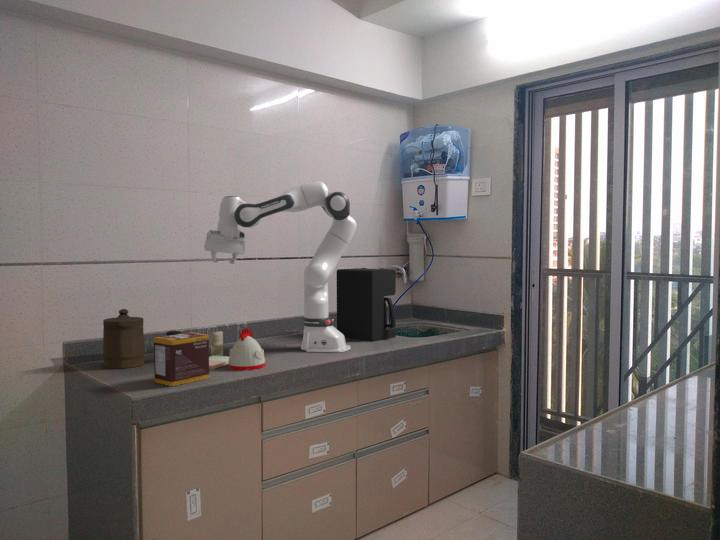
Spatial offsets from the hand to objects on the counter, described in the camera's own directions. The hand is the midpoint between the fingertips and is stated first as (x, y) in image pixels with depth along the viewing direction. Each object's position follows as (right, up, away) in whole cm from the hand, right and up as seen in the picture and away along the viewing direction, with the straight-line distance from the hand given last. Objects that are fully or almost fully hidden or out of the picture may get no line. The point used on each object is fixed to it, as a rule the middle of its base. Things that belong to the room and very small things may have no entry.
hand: (223, 263), depth 251 cm
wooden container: (-32, -41, -29) cm, 59 cm away
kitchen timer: (+17, -41, -33) cm, 55 cm away
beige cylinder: (0, -40, -10) cm, 41 cm away
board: (+3, -40, -27) cm, 48 cm away
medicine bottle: (-15, -40, -20) cm, 47 cm away
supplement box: (-1, -42, -56) cm, 69 cm away
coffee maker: (+66, -38, +37) cm, 84 cm away
